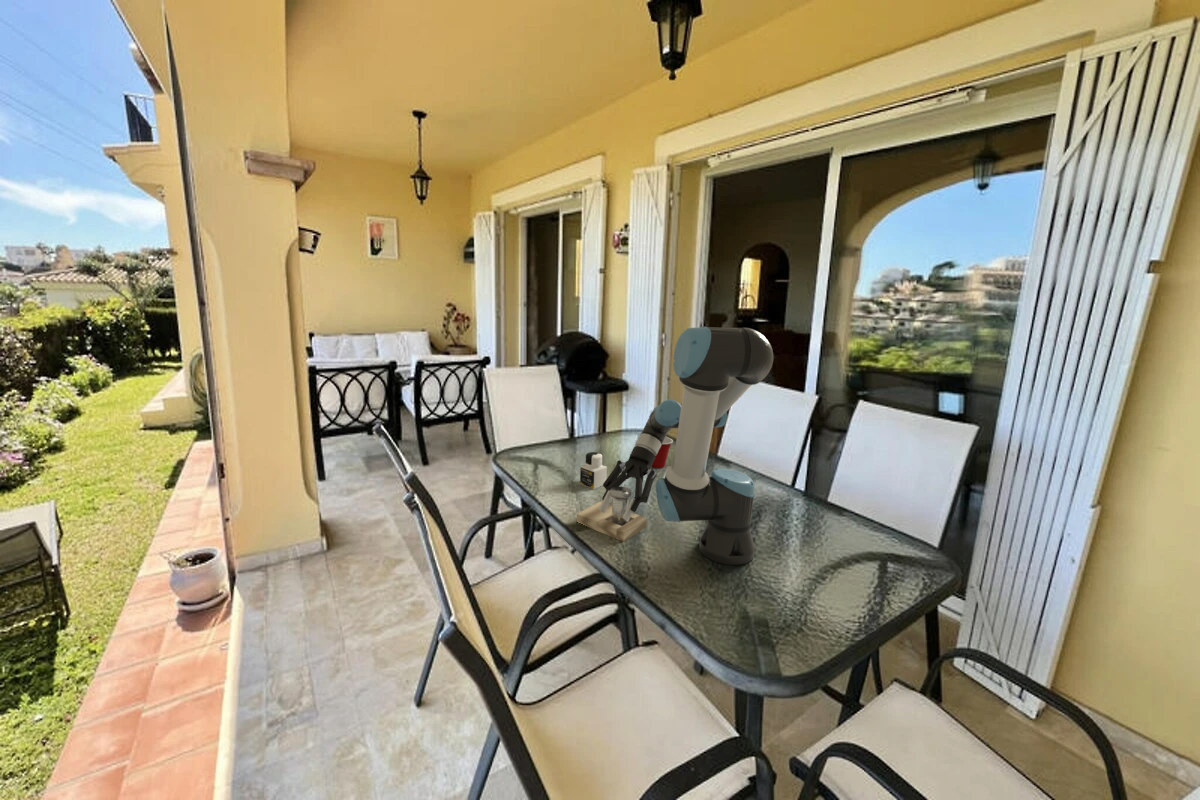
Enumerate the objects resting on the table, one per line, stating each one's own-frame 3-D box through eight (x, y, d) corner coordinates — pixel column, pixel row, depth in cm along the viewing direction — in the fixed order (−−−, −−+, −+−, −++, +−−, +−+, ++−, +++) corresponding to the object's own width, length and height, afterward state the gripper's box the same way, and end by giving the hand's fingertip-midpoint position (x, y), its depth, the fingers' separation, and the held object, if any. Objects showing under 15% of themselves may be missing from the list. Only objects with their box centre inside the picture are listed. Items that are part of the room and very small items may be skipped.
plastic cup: (673, 471, 201) (674, 442, 198) (646, 470, 201) (647, 441, 198) (669, 461, 211) (671, 434, 208) (644, 460, 211) (645, 433, 208)
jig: (646, 526, 154) (646, 517, 153) (623, 541, 145) (624, 532, 144) (600, 509, 165) (600, 501, 164) (576, 522, 156) (576, 513, 155)
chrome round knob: (633, 527, 154) (635, 490, 151) (621, 535, 149) (623, 497, 146) (616, 520, 157) (618, 484, 155) (604, 528, 152) (605, 491, 150)
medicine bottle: (579, 484, 185) (580, 453, 182) (592, 479, 190) (593, 449, 187) (593, 489, 180) (594, 458, 178) (606, 484, 185) (607, 454, 183)
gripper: (677, 465, 154) (647, 531, 146) (622, 449, 167) (591, 510, 158) (670, 453, 149) (637, 521, 140) (613, 438, 161) (580, 500, 153)
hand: (613, 515), depth 149 cm, fingers open, 8 cm apart
